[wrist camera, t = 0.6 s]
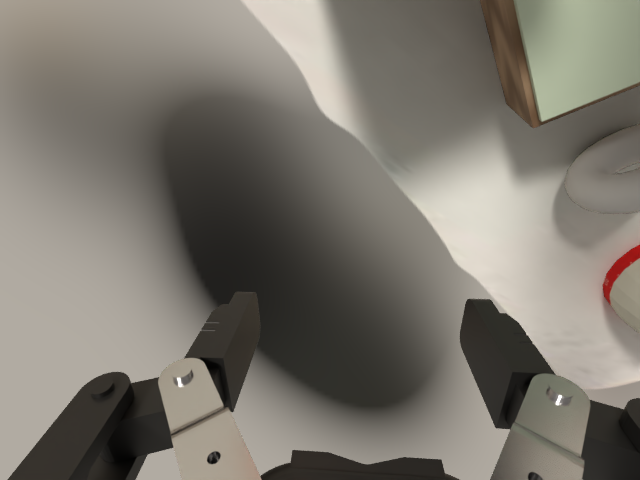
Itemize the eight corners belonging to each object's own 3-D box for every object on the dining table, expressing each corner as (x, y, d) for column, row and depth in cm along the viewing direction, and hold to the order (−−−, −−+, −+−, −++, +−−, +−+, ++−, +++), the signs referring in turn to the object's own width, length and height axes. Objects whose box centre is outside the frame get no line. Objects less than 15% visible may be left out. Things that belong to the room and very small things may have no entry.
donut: (661, 96, 30) (761, 133, 22) (673, 127, 31) (772, 173, 23) (542, 162, 35) (587, 212, 27) (556, 187, 36) (603, 241, 28)
